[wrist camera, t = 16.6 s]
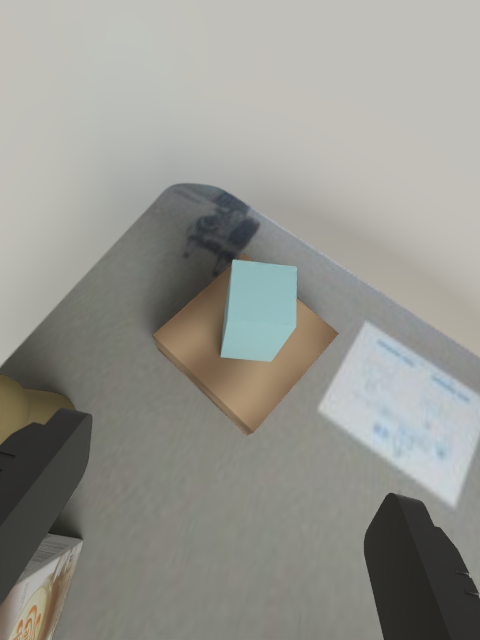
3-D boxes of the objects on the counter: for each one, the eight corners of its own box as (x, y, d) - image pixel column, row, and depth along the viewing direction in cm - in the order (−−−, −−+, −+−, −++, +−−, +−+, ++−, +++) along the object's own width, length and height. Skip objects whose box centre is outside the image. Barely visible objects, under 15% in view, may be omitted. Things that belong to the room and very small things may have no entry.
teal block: (272, 314, 33) (296, 266, 25) (270, 361, 32) (296, 326, 23) (224, 310, 33) (232, 259, 25) (220, 357, 31) (227, 320, 23)
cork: (38, 476, 31) (-42, 485, 20) (-10, 431, 32) (-110, 417, 21) (91, 419, 33) (42, 401, 23) (45, 378, 34) (-23, 343, 23)
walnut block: (322, 348, 38) (338, 333, 33) (246, 436, 34) (253, 432, 29) (239, 276, 40) (244, 253, 36) (158, 351, 36) (152, 335, 32)
